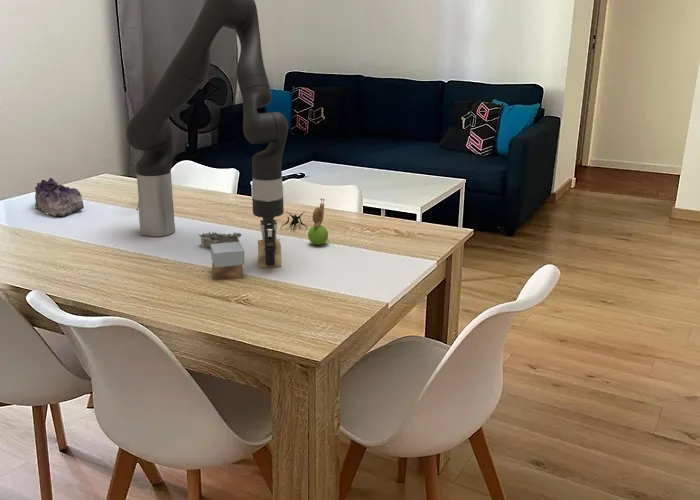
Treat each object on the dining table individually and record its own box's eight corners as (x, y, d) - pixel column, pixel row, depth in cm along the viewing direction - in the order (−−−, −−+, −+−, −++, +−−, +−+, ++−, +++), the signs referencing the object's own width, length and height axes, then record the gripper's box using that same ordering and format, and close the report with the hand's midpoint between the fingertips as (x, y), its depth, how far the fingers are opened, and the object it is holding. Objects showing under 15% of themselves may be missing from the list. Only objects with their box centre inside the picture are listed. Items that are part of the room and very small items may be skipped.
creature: (306, 236, 207) (309, 223, 214) (305, 220, 205) (308, 207, 211) (279, 235, 208) (283, 222, 215) (278, 219, 205) (282, 206, 212)
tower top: (215, 267, 170) (214, 253, 169) (211, 257, 176) (210, 244, 175) (244, 264, 172) (244, 250, 171) (239, 255, 178) (239, 241, 177)
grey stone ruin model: (243, 247, 195) (243, 233, 193) (224, 254, 189) (223, 240, 188) (216, 240, 200) (215, 226, 199) (196, 246, 195) (195, 232, 194)
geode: (20, 208, 228) (20, 176, 226) (56, 206, 237) (55, 175, 235) (52, 218, 216) (52, 185, 214) (88, 215, 224) (88, 183, 222)
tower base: (212, 280, 172) (212, 266, 170) (213, 270, 178) (212, 257, 177) (242, 279, 173) (242, 265, 171) (242, 269, 179) (241, 255, 178)
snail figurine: (332, 241, 199) (332, 199, 196) (323, 248, 194) (323, 205, 190) (313, 239, 201) (313, 197, 197) (305, 246, 195) (304, 203, 191)
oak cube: (259, 267, 179) (258, 246, 178) (258, 260, 184) (257, 239, 183) (281, 266, 180) (280, 245, 178) (280, 259, 185) (279, 238, 183)
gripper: (251, 188, 183) (253, 252, 188) (253, 203, 169) (255, 271, 175) (281, 187, 184) (282, 251, 189) (285, 202, 170) (286, 270, 176)
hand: (269, 260), depth 182 cm, fingers closed on oak cube, 5 cm apart
